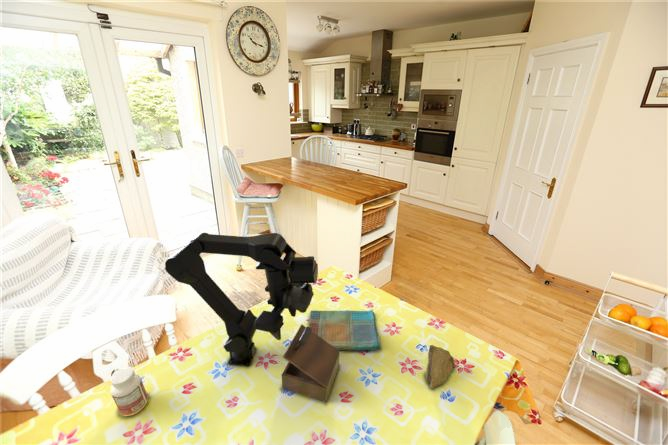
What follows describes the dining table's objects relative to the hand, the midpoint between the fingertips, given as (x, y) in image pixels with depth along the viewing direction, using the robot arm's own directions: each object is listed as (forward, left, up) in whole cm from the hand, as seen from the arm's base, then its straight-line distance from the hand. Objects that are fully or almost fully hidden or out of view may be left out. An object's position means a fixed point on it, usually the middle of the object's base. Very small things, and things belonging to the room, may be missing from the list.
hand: (286, 327), depth 81 cm
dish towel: (+16, +13, -13) cm, 25 cm away
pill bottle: (-36, -17, -13) cm, 42 cm away
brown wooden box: (+8, -5, -13) cm, 16 cm away
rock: (+45, -1, -13) cm, 47 cm away
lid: (+8, -5, -5) cm, 10 cm away
